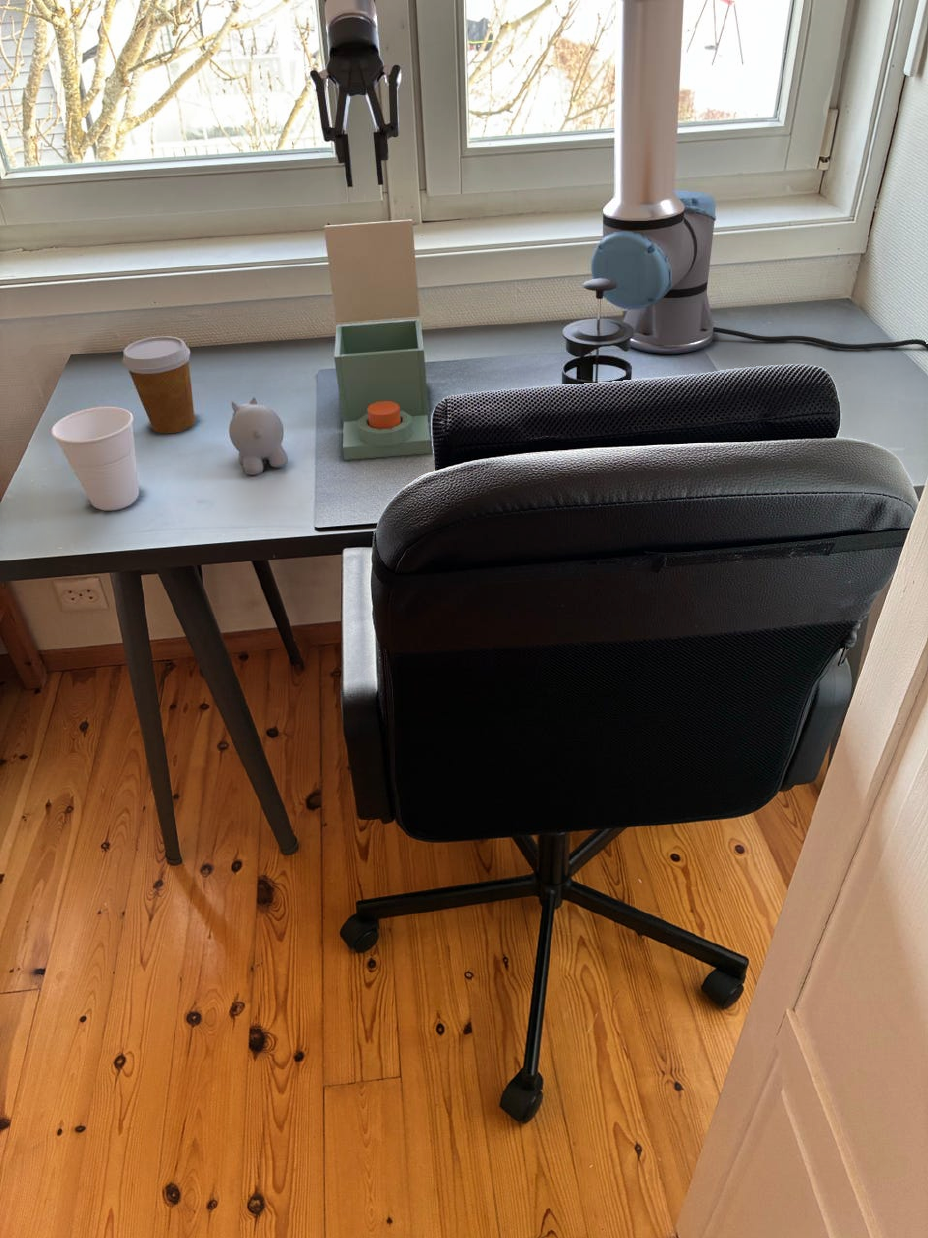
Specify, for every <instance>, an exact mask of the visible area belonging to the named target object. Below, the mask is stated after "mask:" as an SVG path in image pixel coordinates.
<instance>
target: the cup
mask: <svg viewBox="0 0 928 1238" xmlns="http://www.w3.org/2000/svg"><path fill="white" fill-rule="evenodd" d="M133 422H134V415H133V414H132V412H131V411H129V410H128V409H125V408H122V407H117V406H98V407H97V406H96V407H91V408H87V409H82V410H78V411H75V412H73V413H70V414H68V415H65V416H64V417H62V418H60V419H59V420H58V421H56V423H54V424H53V426H52V427H51V430H50V434H51V436H52V438H53V439H54V440H56V442H57V444H58V446H59V447H60V449H61V451H62V453H63V455H64V456H65V458H66V460H67V462H68V464H69V465H70V467H71V470H72V471H73V473H74V475H75V477H76V478H77V480H78V481H79V484H80V485H81V487H82V489H83V491H84V493H85V495H86V497H87V498H88V500H89V502H90V504H91V505H92V507H94V508H96V509H98V510H100V511H110V512H111V511H117V510H122V509H124V508H128V507H129V506H131V505H133V504H134V503H135V502H136V501H137V500H138V498H139V496H140V487H139V485H140V484H139V477H138V467H137V460H136V450H135V439H134V427H133Z"/></svg>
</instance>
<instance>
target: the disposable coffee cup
mask: <svg viewBox="0 0 928 1238" xmlns="http://www.w3.org/2000/svg"><path fill="white" fill-rule="evenodd" d="M190 356H191V350H190V348H189V347H188V346H187V345H186V342H185V341H184V340H183V338H180V337H176V336H169V335H167V336H165V335H163V336H153V337H146V338H143V339H140V340H136V341H134V342H132V343H130V344H128V345H127V346H126V347H125V348H124V349H123V358H122V360H121V362H122V364H123V366H124V367H125V368H126V369H127V371H128V373H129V374H130V378H131V380H132V382H133V385H134V387H135V389H136V392H137V394H138V396H139V399H140V401H141V404H142V406H143V409H144V411H145V413H146V416H147V418H148V421H149V424H150V425H151V428H152V430H153V431H154V432H156V433H159V434H176V433H180V432H183V431H186V430H188V429H190V428H192V427H193V426H194V424H195V423H196V419H195V418H196V417H195V410H194V409H195V408H194V400H193V388H192V381H191V370H190V362H189V361H190Z"/></svg>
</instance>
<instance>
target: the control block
mask: <svg viewBox="0 0 928 1238" xmlns="http://www.w3.org/2000/svg"><path fill="white" fill-rule="evenodd" d="M400 418H401V423H400V424H399V425H398V426H395V427H393V428H388V429H376V428H372V427H370V425H369V419H368V414H365V415H364V416H363V417H362V418H360V419H359V420H358V421H349V422H344V425H343V435H342V436H343V437H342V438H343V439H342V452H343V459H344V461H350V460H361V459H373V458H374V459H375V458H385V457H386V458H387V457H400V456H411V455H421V454H422V455H424V454H432V447H431V435H430V427H429V421H428V418H427V415H424V416H410V415H409V414H407V413H406V412H404V411H400Z"/></svg>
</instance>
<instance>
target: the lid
mask: <svg viewBox="0 0 928 1238" xmlns="http://www.w3.org/2000/svg"><path fill="white" fill-rule="evenodd" d="M413 224H414V223H413V219H400V220H399V219H397V220H384V221H371V222H370V221H369V222H358V223H357V222H356V223H344V224H342V223H341V224H328V225H324V226H323V231H324V239H325V247H326V255H327V263H328V270H329V278H330V285H331V293H332V302H333V310H334V318H335V323H350V322H365V321H377V320H389V319H390V320H391V319H402V318H404V319H405V318H413V317H414V318H415V317H420V316H421V313H420V300H419V287H418V276H417V275H418V274H417V263H416V262H417V261H416V250H415V237H414V225H413Z"/></svg>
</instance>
